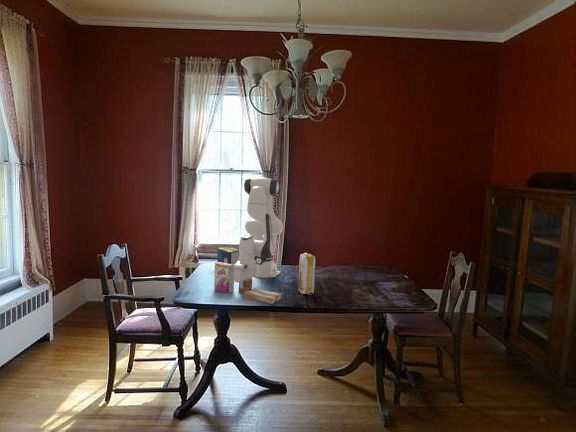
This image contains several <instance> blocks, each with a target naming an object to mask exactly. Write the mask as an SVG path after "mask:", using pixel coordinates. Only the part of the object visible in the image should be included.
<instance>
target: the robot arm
mask: <svg viewBox="0 0 576 432" xmlns="http://www.w3.org/2000/svg"><path fill="white" fill-rule="evenodd" d="M243 188H244V190H243V191H244V192H245V193H246V194H247V195H248V199H247V200H248V201H247V206H246V207H247V208H246V209H247V210H246V211H247V214H248V216H250V218H248V219H247V220H246V221H245V224H244V228H245V231H246V232H247V234H246V235H243V236H241V237H240V238H239V246H238V250H239V253H240V255H239V260H238V261H237V263H236V264H234V268H235V270H234V283H238V285H239V284H240V288H244V285H243V281H245V280H247V279H249V278H252V279H253V278H254V277H255V278H276V277H277V276H278V275H280V274H281V271H280V270H278V265H277V263H276V262H274V259H273V258H274V257H275V255H274V254H273V253H274V243H273V242H274V241H273V236H277V235H280V234H282V232H283V231H284V224H283V222H282V220H280V219H279V218H278V217H277V216H276V214H275V211H274V207H273V205H274V204H273V196H276V195H277V194H278V192H279V189H280V184H279V180H277V178H276V179H275V178H269V177H251V176H250V177H247V178H246V179H245V180H244V183H243Z"/></svg>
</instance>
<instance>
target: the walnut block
mask: <svg viewBox="0 0 576 432" xmlns="http://www.w3.org/2000/svg"><path fill="white" fill-rule="evenodd" d="M243 285H244V288H240V284H239V283H238V293H242V294H243V293H245V292H247V291H250V290H252V289H253V277H252V278H249V279H247V280H245V281H243Z"/></svg>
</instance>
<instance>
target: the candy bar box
mask: <svg viewBox="0 0 576 432" xmlns="http://www.w3.org/2000/svg"><path fill="white" fill-rule="evenodd" d="M213 286H214V289H213V290H214V291H216V292H221V293H225V294H231V293H234V289H235V281H234V265H232V264H227V263H222V262H218V261H217V262H215V263H214V285H213Z"/></svg>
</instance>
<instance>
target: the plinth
mask: <svg viewBox="0 0 576 432" xmlns="http://www.w3.org/2000/svg"><path fill="white" fill-rule="evenodd" d="M281 298H283V293H281V292H276V291H269V290H264V289H261V288H252V290H250V291H247V292H245V293H242V299H244V300H248V301H249V300H250V301H253V302H258V303H265V304H270V305H272V304H274V303H276V302H279V301H280V300H282V299H281Z"/></svg>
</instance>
